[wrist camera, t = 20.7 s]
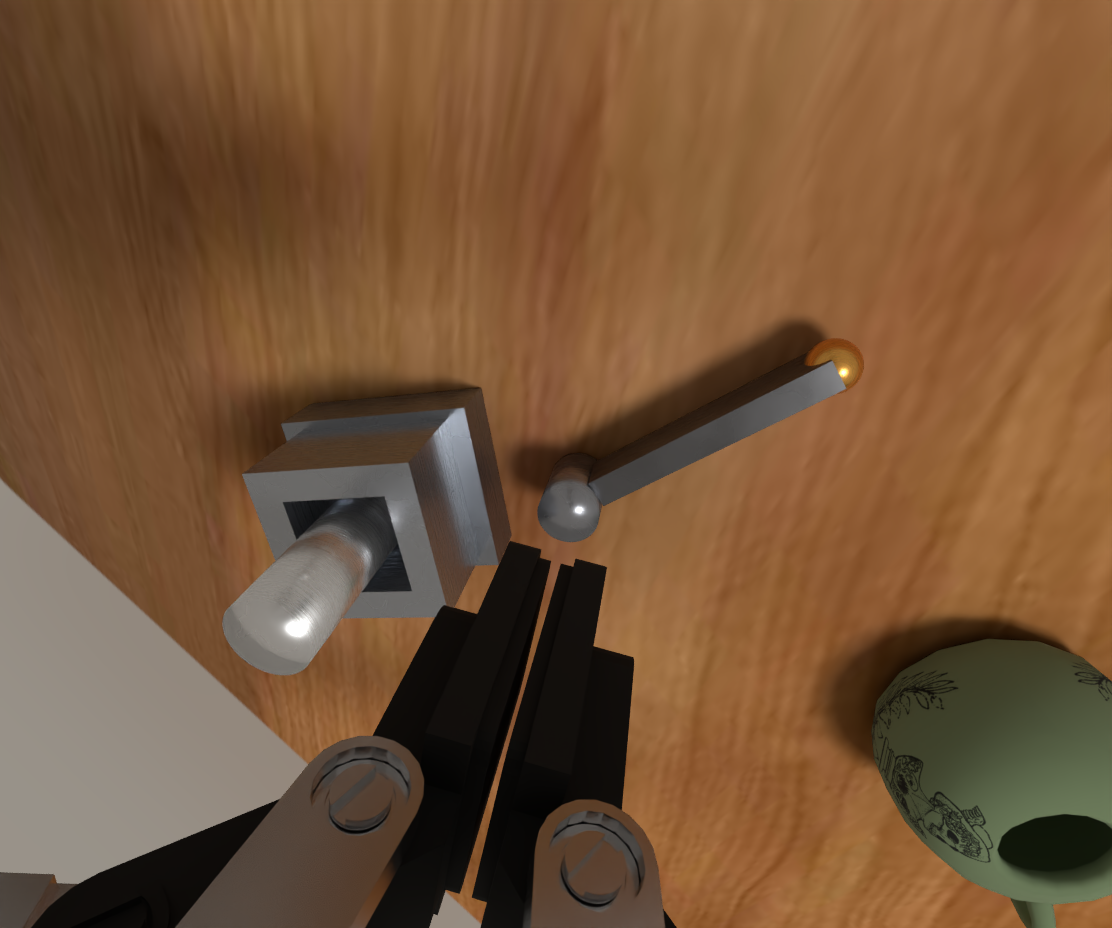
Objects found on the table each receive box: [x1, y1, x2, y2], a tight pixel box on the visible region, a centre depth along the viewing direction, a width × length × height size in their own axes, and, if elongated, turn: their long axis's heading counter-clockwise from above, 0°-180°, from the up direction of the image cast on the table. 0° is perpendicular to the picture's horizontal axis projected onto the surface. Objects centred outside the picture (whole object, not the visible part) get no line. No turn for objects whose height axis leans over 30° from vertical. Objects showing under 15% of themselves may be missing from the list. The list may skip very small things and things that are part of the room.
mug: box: [871, 639, 1112, 928], centre depth 33 cm, size 16×13×9 cm
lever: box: [538, 338, 864, 542], centre depth 30 cm, size 16×3×4 cm, turn 124°
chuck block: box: [242, 388, 512, 618], centre depth 32 cm, size 9×10×8 cm
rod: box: [223, 496, 398, 675], centre depth 29 cm, size 4×4×11 cm
